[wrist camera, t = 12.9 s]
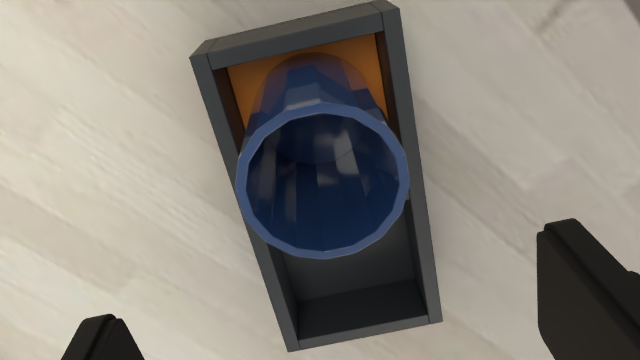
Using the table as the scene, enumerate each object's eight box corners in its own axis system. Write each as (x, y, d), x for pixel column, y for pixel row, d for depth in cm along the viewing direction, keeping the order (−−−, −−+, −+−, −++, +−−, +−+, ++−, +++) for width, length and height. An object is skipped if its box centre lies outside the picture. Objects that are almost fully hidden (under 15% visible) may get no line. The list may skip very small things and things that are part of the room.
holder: (384, -2, 24) (399, 7, 21) (426, 279, 32) (443, 322, 29) (204, 40, 25) (188, 57, 21) (288, 307, 33) (288, 353, 29)
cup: (362, 39, 25) (395, 85, 16) (382, 152, 27) (419, 240, 19) (239, 67, 25) (213, 126, 17) (271, 177, 28) (262, 273, 20)
